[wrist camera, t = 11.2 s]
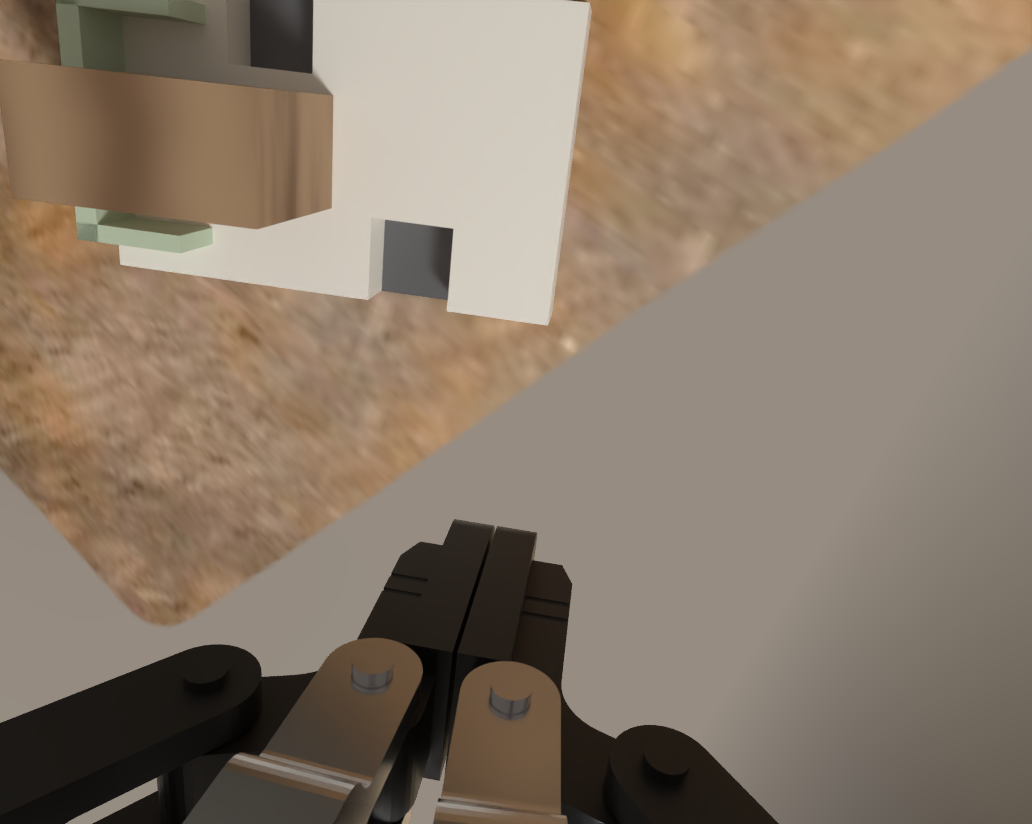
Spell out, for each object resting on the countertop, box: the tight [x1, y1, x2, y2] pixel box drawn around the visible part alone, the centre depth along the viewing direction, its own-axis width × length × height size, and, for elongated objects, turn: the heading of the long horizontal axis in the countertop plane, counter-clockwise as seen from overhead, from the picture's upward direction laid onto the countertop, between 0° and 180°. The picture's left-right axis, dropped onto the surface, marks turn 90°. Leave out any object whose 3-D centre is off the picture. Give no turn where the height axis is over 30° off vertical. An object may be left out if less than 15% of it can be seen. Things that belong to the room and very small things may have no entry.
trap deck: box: [55, 0, 592, 325], centre depth 35 cm, size 22×14×6 cm, turn 84°
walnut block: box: [0, 59, 333, 229], centre depth 32 cm, size 10×5×8 cm, turn 84°
